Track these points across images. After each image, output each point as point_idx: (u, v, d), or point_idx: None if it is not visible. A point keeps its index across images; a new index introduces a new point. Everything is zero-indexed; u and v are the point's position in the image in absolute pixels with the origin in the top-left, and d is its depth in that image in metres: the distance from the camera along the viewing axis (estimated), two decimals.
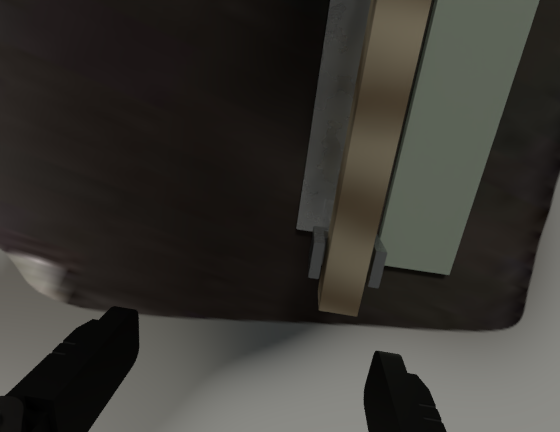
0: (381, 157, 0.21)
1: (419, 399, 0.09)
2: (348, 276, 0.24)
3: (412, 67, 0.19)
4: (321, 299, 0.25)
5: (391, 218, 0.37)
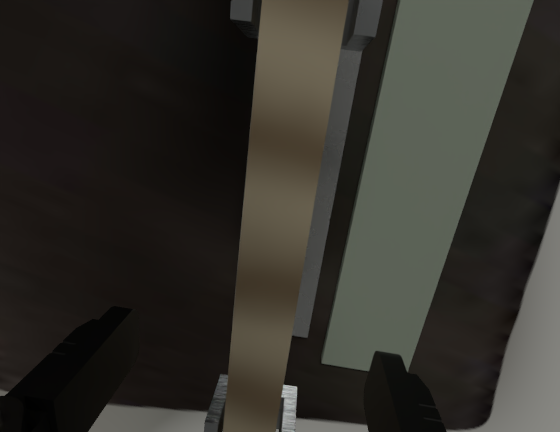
0: (273, 346, 0.16)
1: (419, 399, 0.09)
2: None
3: (302, 250, 0.14)
4: None
5: (338, 318, 0.32)
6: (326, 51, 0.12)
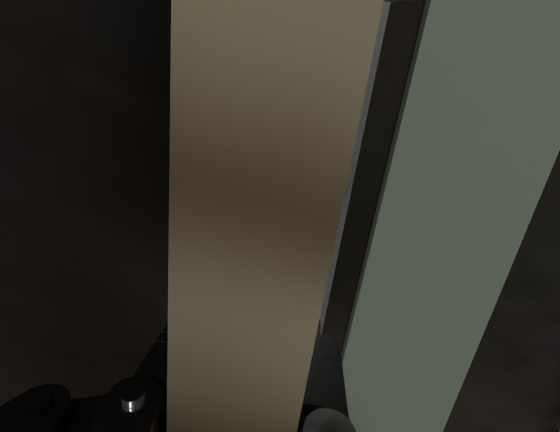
0: None
1: (328, 355, 0.10)
2: None
3: (293, 404, 0.07)
4: None
5: (346, 384, 0.25)
6: None
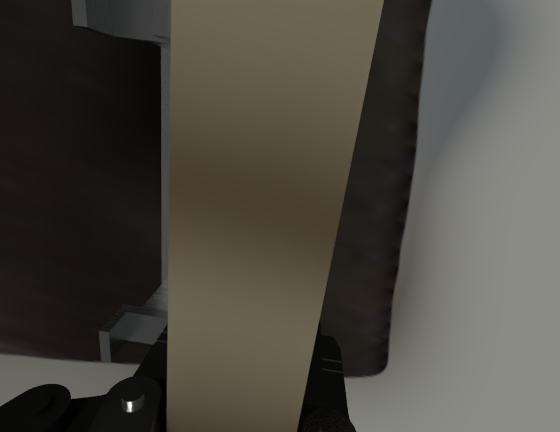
0: None
1: (328, 355, 0.10)
2: None
3: (293, 406, 0.07)
4: None
5: None
6: None
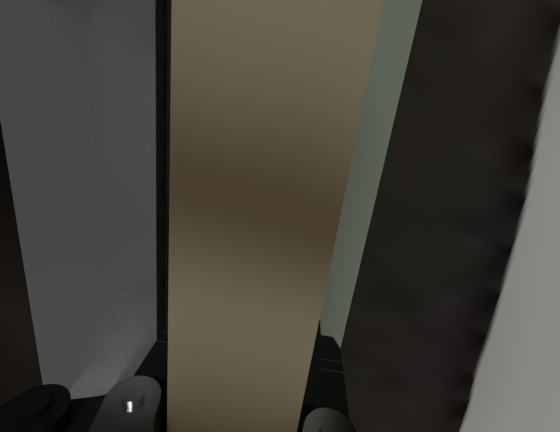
0: None
1: (328, 355, 0.10)
2: None
3: (293, 406, 0.07)
4: None
5: None
6: None
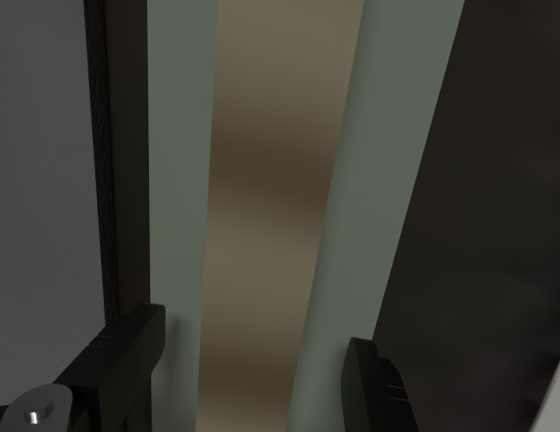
0: None
1: (389, 381, 0.09)
2: None
3: (297, 331, 0.09)
4: None
5: None
6: (339, 12, 0.07)
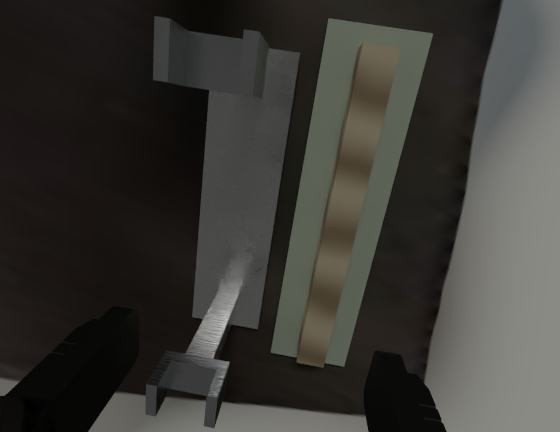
0: (339, 267, 0.32)
1: (419, 399, 0.09)
2: (317, 341, 0.34)
3: (358, 216, 0.30)
4: (298, 355, 0.35)
5: (283, 312, 0.37)
6: (376, 127, 0.27)
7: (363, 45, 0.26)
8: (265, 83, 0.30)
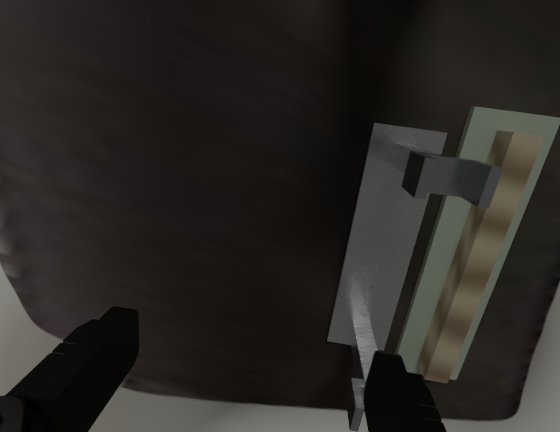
0: (471, 303, 0.38)
1: (419, 399, 0.09)
2: (445, 362, 0.41)
3: (492, 263, 0.36)
4: (427, 373, 0.42)
5: (408, 336, 0.44)
6: (516, 195, 0.34)
7: (513, 134, 0.32)
8: None
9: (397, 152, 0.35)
